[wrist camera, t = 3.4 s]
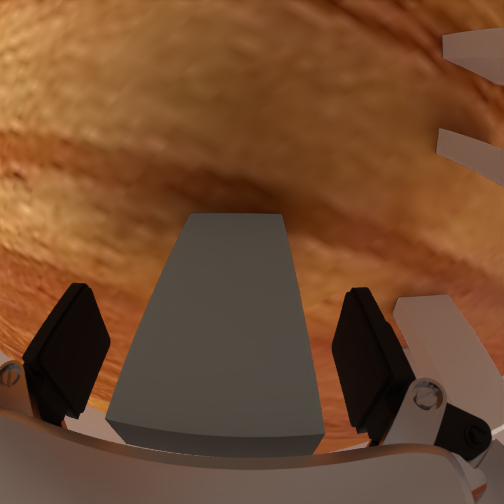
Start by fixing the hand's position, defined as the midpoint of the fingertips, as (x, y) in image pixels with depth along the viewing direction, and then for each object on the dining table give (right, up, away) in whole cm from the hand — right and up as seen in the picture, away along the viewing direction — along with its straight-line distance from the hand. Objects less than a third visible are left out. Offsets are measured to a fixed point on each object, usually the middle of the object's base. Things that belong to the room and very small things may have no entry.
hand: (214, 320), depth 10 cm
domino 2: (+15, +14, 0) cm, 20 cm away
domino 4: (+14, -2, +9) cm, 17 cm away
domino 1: (0, +4, +6) cm, 7 cm away
